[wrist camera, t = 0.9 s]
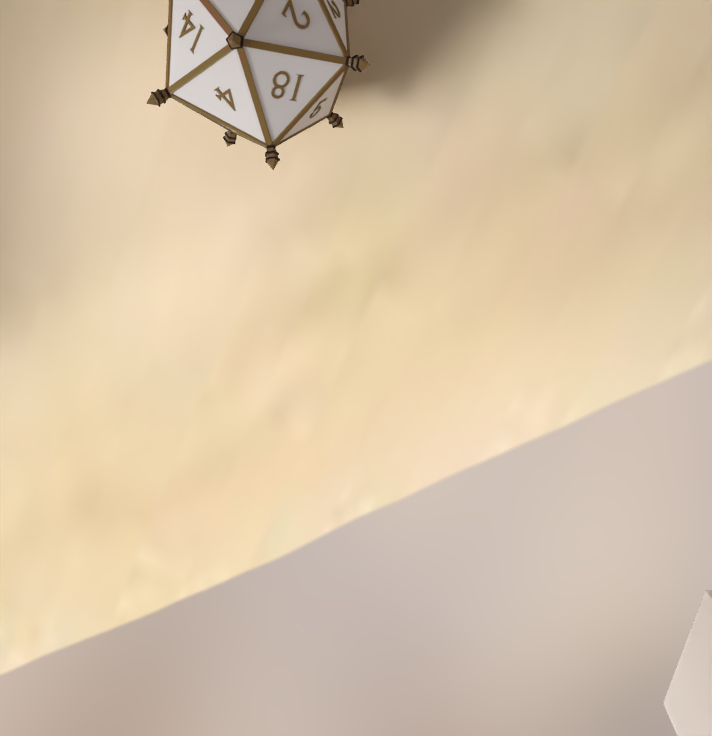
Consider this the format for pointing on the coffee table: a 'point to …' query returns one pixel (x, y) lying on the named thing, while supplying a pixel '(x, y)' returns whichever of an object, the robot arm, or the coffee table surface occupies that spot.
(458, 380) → the coffee table surface
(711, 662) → the robot arm
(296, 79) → the game die
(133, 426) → the coffee table surface
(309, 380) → the coffee table surface
